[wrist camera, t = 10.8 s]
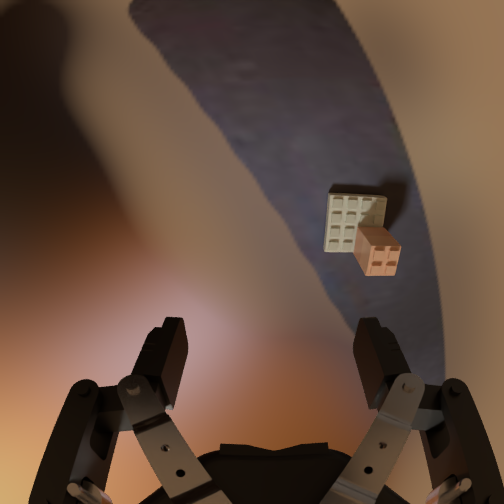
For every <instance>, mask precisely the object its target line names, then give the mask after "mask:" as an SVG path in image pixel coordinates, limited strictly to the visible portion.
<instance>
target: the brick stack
mask: <svg viewBox="0 0 504 504" xmlns="http://www.w3.org/2000/svg"><path fill="white" fill-rule="evenodd" d="M400 250H401V246H400V244H399V243H398V242H397V241H396V240H395V239H394V238H393V237H392V235H391V234H390V233H389V232H388V231H387V230H386V229H385V228H384V227H357V233H356V240H355V246H354V253H353V254H354V255H355V257H356V259H357V261H358V263H359V264H360V266H361V268H362V270H363V272H364V273H365V275H366V276H389V275H395V272H396V267H397V263H398V259H399V254H400Z"/></svg>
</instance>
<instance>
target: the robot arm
mask: <svg viewBox="0 0 504 504" xmlns="http://www.w3.org/2000/svg"><path fill="white" fill-rule="evenodd" d="M400 349H401V348H400V346H399V344H398V342H397V340H396V338H395V336H394V334H393V333H392V332H391V331H390V330H389V329H388V328H387V327H382V328H381V326H380V323H379V321H378V319H377V318H376V317H367V318H360V319H359V322H358V327H357V331H356V334H355V338H354V342H353V354H354V358H355V361H356V364H357V368H358V371H359V375H360V378H361V382H362V385H363V389H364V393H365V396H366V400H367V404H368V407H369V409H376V408H377V410H378V414H377V416H376V418H375V420H374V422H373V423H372V425H371V427H370V429H369V431H368V432H367V434H366V435H365V437H364V439H363V441H362V442H361V444H360V445H359V447H358V449H357V450H356V452H355V453H354V455H353V457H350V456H349V455H347V454H345V453H343V452H340V451H337V450H332V449H328V443H327V442H325V443H312V444H300V445H297V446H293V447H289V448H285V449H281V450H276V451H272V450H267V449H263V448H258V447H254V446H250V445H238V444H220V450H217V451H213V452H209V453H206V454H203V455H201V456H199V457H197V458H196V456H195V455H194V453H193V452H192V451H191V449H190V448H189V446H188V444H187V443H186V441H185V440H184V438H183V437H182V435H181V434H180V432H179V431H178V429H177V427H176V426H175V424H174V422H173V421H172V419H171V418H170V417H169V415H167V414H166V412H165V409H169V410H173V408H174V405H175V401H176V397H177V392H178V389H179V385H180V381H181V377H182V374H183V369H184V366H185V362H186V358H187V355H188V340H187V335H186V331H185V325H184V320H183V318H180V317H179V318H178V317H166V318H165V320H164V323H163V325H162V327H155V328H154V329H153V330H152V331H151V332H150V333H149V334H148V335H147V338H146V340H145V342H144V344H143V347H142V350H141V351H140V354H139V356H138V359H137V361H136V363H135V366H134V368H133V371H132V373H131V375H128V376H126V377H124V378H123V379H121V380H120V382H119V383H118V385H115V386H106V387H98V385H97V383H96V382H94V381H92V380H89V379H84V380H80V381H78V382H76V383H75V384H74V385H73V386H72V387H71V389H70V392H69V394H68V396H67V398H66V400H65V402H64V405H63V407H62V410H61V412H60V414H59V417H58V419H57V421H56V424H55V426H54V429H53V432H52V434H51V436H50V439H49V442H48V444H47V447H46V450H45V452H44V455H43V458H42V461H41V463H40V466H39V469H38V472H37V475H36V479H35V481H34V485H33V488H32V491H31V494H30V498H29V503H28V504H113V503H112V500H111V499H110V497H109V496H108V495H107V494H105V493H104V491H105V486H106V482H107V478H108V473H109V469H110V465H111V461H112V457H113V453H114V449H115V445H116V441H117V437H118V434H119V432H120V431H130V430H133V431H134V434H135V436H136V438H137V440H138V442H139V444H140V446H141V448H142V450H143V452H144V454H145V455H146V457H147V459H148V461H149V463H150V465H151V467H152V468H153V470H154V472H155V474H156V476H157V477H158V479H159V481H160V482H161V484H162V486H161V487H160V488H159V489H157V490H156V491H155V492H154V493H152V494H151V495H149V496H148V497H147V498H146V499H144V500H143V501H142V502H140V503H139V504H410V503H408V502H407V501H406V500H404V499H403V498H402V497H400V496H399V495H398V494H397V493H395V492H394V491H393V490H391V489H390V488H389V487H388V486H386V485H385V482H386V481H387V479H388V477H389V475H390V473H391V471H392V469H393V467H394V465H395V463H396V461H397V459H398V458H399V455H400V453H401V451H402V449H403V447H404V445H405V443H406V441H407V438H408V436H409V434H410V432H411V429H414V430H419V431H420V436H421V439H422V443H423V447H424V452H425V455H426V460H427V464H428V469H429V473H430V478H431V483H432V488H433V491H431V492H430V493H429V495H428V497H427V499H426V504H504V487H503V483H502V479H501V476H500V472H499V469H498V466H497V462H496V459H495V456H494V453H493V450H492V447H491V444H490V442H489V439H488V436H487V433H486V430H485V428H484V425H483V423H482V420H481V418H480V415H479V413H478V410H477V408H476V405H475V403H474V401H473V398H472V396H471V394H470V391H469V389H468V387H467V385H466V384H465V383H464V382H462V381H461V380H459V379H456V378H450V379H447V380H446V381H445V382H444V383H443V385H442V386H436V385H427V384H424V382H423V380H422V379H421V378H420V377H418V376H417V375H415V374H412V373H411V371H410V369H409V366H408V364H407V362H406V360H405V357H404V355H403V353H402V351H401V350H400Z"/></svg>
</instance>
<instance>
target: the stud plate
mask: <svg viewBox="0 0 504 504" xmlns="http://www.w3.org/2000/svg"><path fill="white" fill-rule="evenodd" d="M386 203H387V198H386V197H385V196H380V195H365V194H347V193H328V203H327V215H326V227H325V237H324V247H323V248H324V251H325V252H354V246H355V240H356V233H357V227H383V223H384V217H385V210H386Z"/></svg>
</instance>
